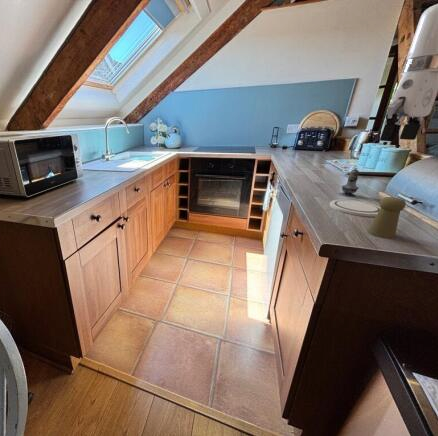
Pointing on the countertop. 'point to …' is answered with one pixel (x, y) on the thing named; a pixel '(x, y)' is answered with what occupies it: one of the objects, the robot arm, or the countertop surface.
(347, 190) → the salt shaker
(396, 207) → the cork
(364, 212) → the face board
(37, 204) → the countertop surface
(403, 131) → the robot arm
